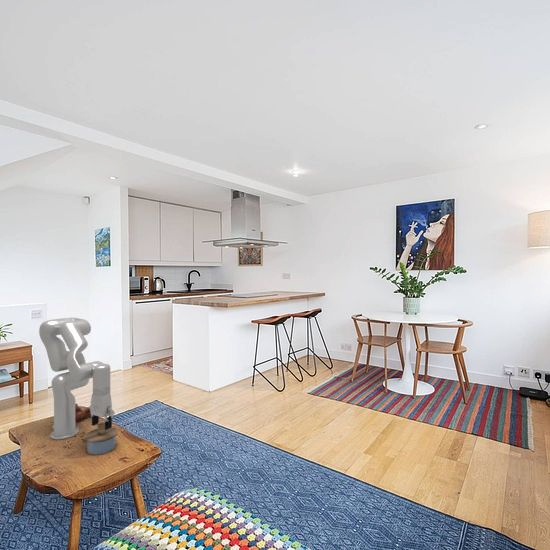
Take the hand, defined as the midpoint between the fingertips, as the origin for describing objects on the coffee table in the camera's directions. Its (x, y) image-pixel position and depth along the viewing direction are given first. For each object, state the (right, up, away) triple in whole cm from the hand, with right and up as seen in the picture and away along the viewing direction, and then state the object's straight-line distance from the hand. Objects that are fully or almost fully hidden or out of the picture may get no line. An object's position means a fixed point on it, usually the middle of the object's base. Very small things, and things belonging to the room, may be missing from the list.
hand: (101, 426), depth 166 cm
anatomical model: (-31, -11, +34) cm, 47 cm away
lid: (0, -4, 0) cm, 4 cm away
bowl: (0, -10, 0) cm, 10 cm away
